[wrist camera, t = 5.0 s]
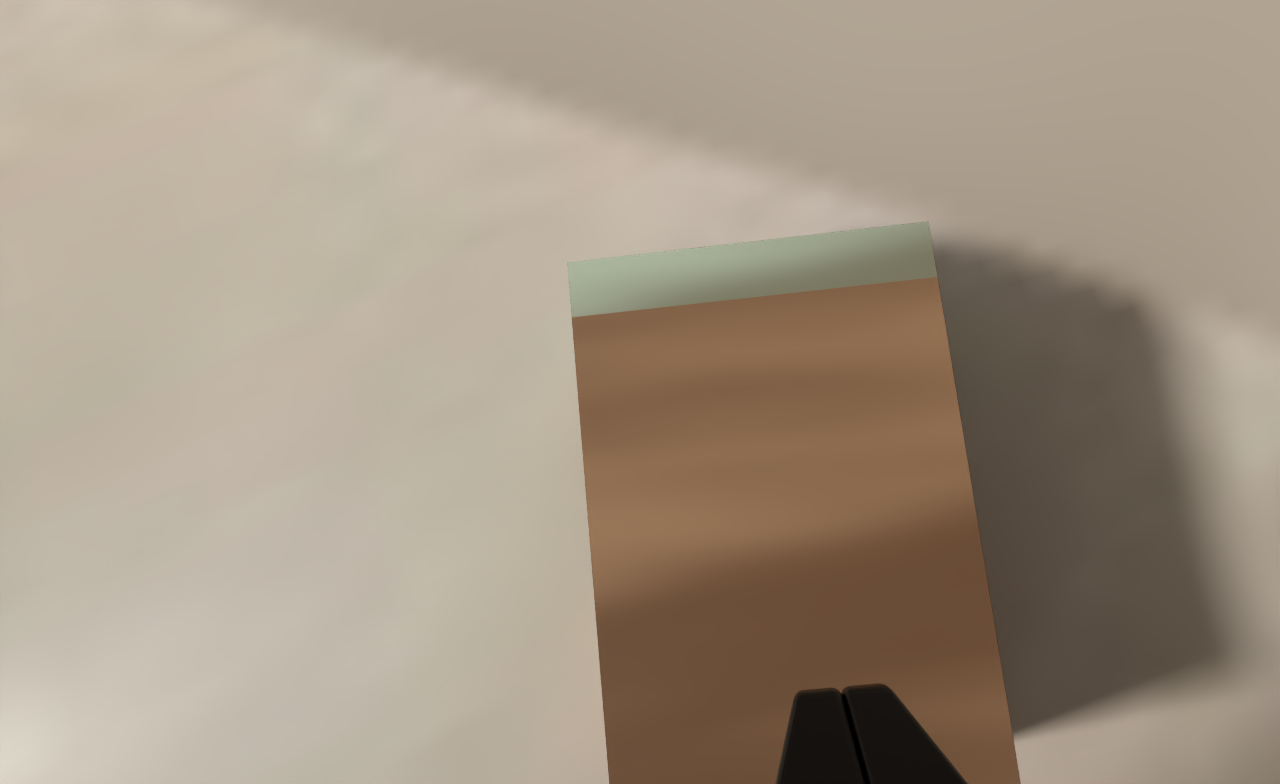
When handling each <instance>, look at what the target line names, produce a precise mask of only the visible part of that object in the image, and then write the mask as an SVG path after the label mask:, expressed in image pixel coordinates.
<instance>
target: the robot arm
mask: <svg viewBox="0 0 1280 784" xmlns="http://www.w3.org/2000/svg"><path fill="white" fill-rule="evenodd" d="M775 784H968V783H967V782H966V780H965V779H964V778H963V777H962V775H961V774H960V773H959V772H958V771H957V769H956V768H955V767H954V766H953V764H952V763H951V762H950V761H949V759H948V758H947V757H946V756H945V754H944V753H943V752H942V751H941V750H940V748H939V747H938V746H937V745H936V743H935V742H934V741H933V740H932V738H931V737H930V736H929V735H928V733H927V732H926V731H925V730H924V728H923V727H922V726H921V725H920V724H919V722H918V721H917V720H916V719H915V717H914V716H913V715H912V714H911V712H910V711H909V710H908V709H907V707H906V706H905V705H904V704H903V703H902V701H901V700H900V699H899V698H898V696H897V695H896V694H895V693H894V692H893V690H892V689H891V688H889V687H888V686H887V685H885V684H881V683H876V684H865V685H854V686H847V687H845V688H844V689H843V690H842V693H840V691H839V690H838V689H836V688H832V687H831V688H820V689H808V690H800V691H798V692H797V693H796V695H795V696H794V699H793V703H792V708H791V713H790V717H789V722H788V727H787V731H786V736H785V741H784V745H783V750H782V754H781V759H780V764H779V768H778V773H777V778H776V782H775Z"/></svg>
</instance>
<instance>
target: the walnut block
mask: <svg viewBox="0 0 1280 784" xmlns="http://www.w3.org/2000/svg"><path fill="white" fill-rule="evenodd" d="M567 264H568V276H569V288H570V301H571V313H572V326H573V338H574V350H575V363H576V375H577V388H578V400H579V412H580V425H581V437H582V450H583V462H584V474H585V487H586V499H587V511H588V524H589V536H590V549H591V561H592V573H593V586H594V598H595V611H596V623H597V635H598V648H599V660H600V673H601V685H602V697H603V710H604V722H605V735H606V747H607V759H608V772H609V784H775V782H776V778H777V773H778V768H779V764H780V759H781V754H782V750H783V745H784V741H785V736H786V731H787V727H788V722H789V717H790V713H791V708H792V703H793V699H794V696H795V695H796V693H797V692H798V691H800V690H808V689H820V688H831V687H832V688H836V689H838V690H839V691H840V693H842V690H843V689H844V688H845V687H847V686H854V685H865V684H876V683H881V684H885V685H887V686H888V687H889V688H891V689H892V690H893V692H894V693H895V694H896V695H897V696H898V698H899V699H900V700H901V701H902V703H903V704H904V705H905V706H906V707H907V709H908V710H909V711H910V712H911V714H912V715H913V716H914V717H915V719H916V720H917V721H918V722H919V724H920V725H921V726H922V727H923V728H924V730H925V731H926V732H927V733H928V735H929V736H930V737H931V738H932V740H933V741H934V742H935V743H936V745H937V746H938V747H939V748H940V750H941V751H942V752H943V753H944V754H945V756H946V757H947V758H948V759H949V761H950V762H951V763H952V764H953V766H954V767H955V768H956V769H957V771H958V772H959V773H960V774H961V775H962V777H963V778H964V779H965V780H966V782H967V783H968V784H1021V783H1020V777H1019V771H1018V765H1017V759H1016V752H1015V746H1014V740H1013V734H1012V728H1011V722H1010V716H1009V710H1008V704H1007V698H1006V692H1005V685H1004V679H1003V673H1002V667H1001V661H1000V655H999V649H998V643H997V637H996V631H995V624H994V618H993V612H992V606H991V600H990V594H989V588H988V582H987V576H986V570H985V563H984V557H983V551H982V545H981V539H980V533H979V527H978V521H977V515H976V509H975V503H974V496H973V490H972V484H971V478H970V472H969V466H968V460H967V454H966V448H965V442H964V435H963V429H962V423H961V417H960V411H959V405H958V399H957V393H956V387H955V381H954V374H953V368H952V362H951V356H950V350H949V344H948V338H947V332H946V326H945V320H944V313H943V307H942V301H941V295H940V289H939V283H938V277H937V271H936V265H935V259H934V253H933V246H932V240H931V234H930V228H929V222H919V223H910V224H902V225H893V226H884V227H875V228H866V229H858V230H849V231H840V232H831V233H822V234H814V235H805V236H796V237H787V238H778V239H770V240H761V241H752V242H743V243H734V244H726V245H717V246H708V247H699V248H690V249H682V250H673V251H664V252H655V253H646V254H638V255H629V256H620V257H611V258H602V259H594V260H585V261H576V262H567Z"/></svg>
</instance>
